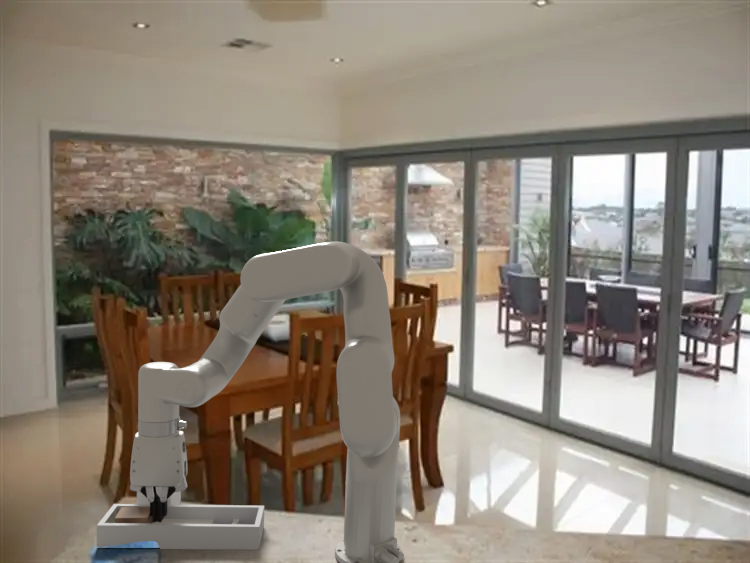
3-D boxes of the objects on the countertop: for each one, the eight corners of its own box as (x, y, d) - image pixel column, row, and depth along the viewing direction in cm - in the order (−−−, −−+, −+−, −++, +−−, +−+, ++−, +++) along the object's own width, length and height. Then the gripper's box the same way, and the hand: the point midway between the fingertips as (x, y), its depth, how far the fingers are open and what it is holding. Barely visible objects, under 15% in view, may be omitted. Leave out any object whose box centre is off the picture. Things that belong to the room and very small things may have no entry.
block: (152, 521, 136) (152, 507, 136) (147, 533, 131) (147, 517, 131) (121, 522, 135) (121, 507, 135) (114, 533, 130) (114, 518, 130)
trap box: (263, 526, 140) (264, 505, 140) (258, 549, 130) (259, 526, 130) (113, 525, 138) (113, 503, 138) (96, 548, 128) (96, 525, 128)
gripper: (201, 421, 136) (201, 511, 138) (125, 421, 135) (125, 511, 137) (194, 433, 129) (193, 527, 130) (113, 432, 128) (113, 527, 129)
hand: (158, 519), depth 134 cm, fingers closed
